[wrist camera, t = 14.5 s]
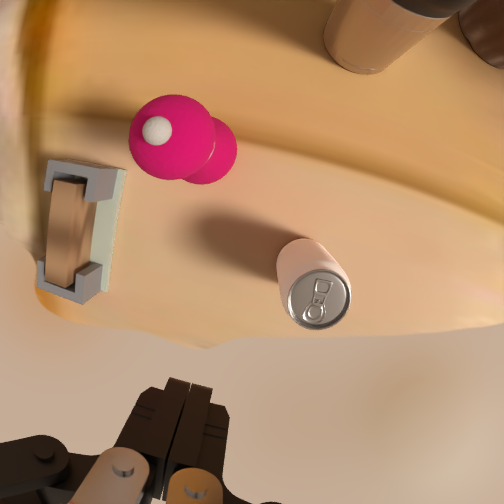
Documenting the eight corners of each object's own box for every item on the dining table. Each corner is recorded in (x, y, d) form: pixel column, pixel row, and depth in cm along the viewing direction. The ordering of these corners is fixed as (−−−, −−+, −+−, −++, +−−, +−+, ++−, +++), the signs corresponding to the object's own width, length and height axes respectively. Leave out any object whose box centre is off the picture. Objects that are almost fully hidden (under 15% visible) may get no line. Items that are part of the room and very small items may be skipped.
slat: (80, 178, 36) (54, 179, 30) (100, 182, 36) (76, 184, 30) (69, 267, 39) (45, 280, 33) (88, 273, 39) (65, 287, 33)
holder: (69, 159, 37) (43, 158, 31) (127, 170, 37) (105, 169, 31) (56, 272, 40) (32, 285, 34) (108, 290, 40) (88, 306, 35)
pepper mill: (226, 192, 37) (189, 209, 18) (169, 172, 37) (83, 172, 17) (248, 133, 36) (234, 87, 16) (190, 115, 35) (122, 60, 16)
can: (270, 283, 40) (273, 327, 28) (283, 231, 38) (292, 256, 26) (320, 294, 40) (342, 339, 28) (335, 244, 38) (365, 273, 27)
